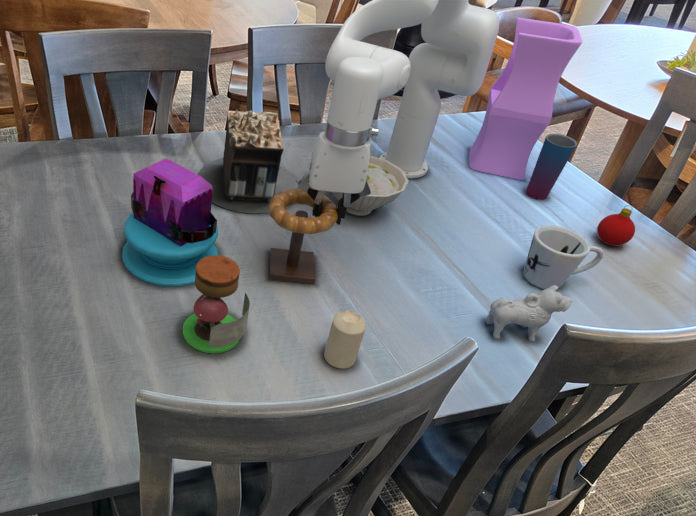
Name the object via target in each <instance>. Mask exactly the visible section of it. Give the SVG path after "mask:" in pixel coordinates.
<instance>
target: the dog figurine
mask: <svg viewBox="0 0 696 516" xmlns="http://www.w3.org/2000/svg"><path fill="white" fill-rule="evenodd" d="M557 290H559V288H558V287H557V286H556V285H553V286H551V287H549V288H547V289H543V290H541V291H540V292H539V293H538V294H536V293H534V292H530V293H528V294H527V295H526V296H525V297H523V298H518V299H509V298H504V297H503V298H502V297H501V298H498V299H495V300H494V301H492V303H491V304H490V307H489V308H490V310H489V311H488V315H487V317H486V319H485V321H486V322H485V323H486V324H487V325H493V326H494V328H493V329H494V330H493V332H492V336H493V338H494V339H498V340H499V339H501V332H502V330H503V329H504V328H505V327H506V326H507V325H508V324H510V323H513V324H516V325H519V326H520V327H521V328H527V327H528V337H527V339H528V341H529V342H536V335H537V333H538V331H539V329H540V328H542V327H544V326H546V325H547V324H548V323H549V322H550V320H551V318H552V314H553V313H555V312H556V313H558V312H559V313H560V312H563V313H564V312H566V311H568V310H569V309H570V308H571V306H572V302H573V300H572V298H571V297H570V296H564V295H563V294H562V293H561V292H560V291H557Z"/></svg>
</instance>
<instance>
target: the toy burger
mask: <svg viewBox="0 0 696 516" xmlns="http://www.w3.org/2000/svg"><path fill="white" fill-rule="evenodd" d="M240 271H241V269H240V266H239V265H238V263H237V262H236V261H235V260H233V259H232V258H230V257H228V256H224V255H219V254H218V255H212V256H207V257H205V258H203V259H201V260H200V261H199V262H198V263H197V265H196V272H195V283H194V286H195V288H196V289H197V291H198V292H199V293H200V294H201V295H200V296H199V297H198V298H197V299H196V300H195V302H194V304H193V314H191V315H189V316H188V317H187V318H186V319H185V321H184V323H183V324H182V336H183V339H184V340H185V342H186V344H188V345H189V346H190V347H191V348H193V349H195V350H197V351H199V352H202V353H205V354H221V353H226V352H228V351H231V350H232V349H234V348H235V347H236V346H237V345H238V344H239V342H240V341H241V338H242V337H243V336H244V335H245V334H246V331H247V327H248V320H249V312H250V305H251V302H250V298H249V296H248V294H247V293H246V292H244V297H243V305H242V313H241V315H242V316H241V317H239V318H237V319H236V318H235V317H233V316H231V314H229V307H228V304H227V303H226V302H225V300H223V299H222V298H227V297H230V296H232V295H233V294H235V293H236V291H237V290H238V287H239V279H240Z"/></svg>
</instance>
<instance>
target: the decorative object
mask: <svg viewBox="0 0 696 516" xmlns="http://www.w3.org/2000/svg"><path fill="white" fill-rule="evenodd" d="M197 174H198V173H195V172H194V171H192V170H190V169H188V168H186V167H184V166H182V165H180V164H179V163H177V162H174V161H172V160H171V159H168V158H167V157H166V158H163V159H161V160H159V161H157V162H155V163H153V164H151V165H148V166H147V167H145V168H142V169H140V170H138V171H136V172H133V176H132V178H133V179H132V182H133V183H132V187H133V188H132V189H133V191H132V193H131V195H130V208H131V211H132V212H131V213H130V214H129V216H128V217H127V218H126V219H125V221H124V227H123V234H124V236H125V239H126V242H125V244H124V245H123V247H122V252H121V260H122V262H123V264H124V267H125V269H126V270H127V271H128V272H129V273H130V274H131V275H133V276H134V277H135V278H137V279H139V280H141V281H143V282H144V283H147V284H151V285H155V286H160V287H182V286H187V285H193V284H194V285H195V272H196V265H197V263H198V262H199V261H200V260H201V259H203V258H205V257H207V256H212V255H219V253H218V252H219V251H218V248H217V247H216V245H215V244H216V241H217V239H218V236H219V230H218V229H219V228H218V219H217V218H216V216H215V215H214V214H213V213H212V204H213V203H212V192H213V189H212V185H211V184H210V183H209V182H207V181H206V180H205V179H204V178H202V177H201V176H199V175H197Z"/></svg>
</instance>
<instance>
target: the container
mask: <svg viewBox="0 0 696 516" xmlns="http://www.w3.org/2000/svg"><path fill="white" fill-rule="evenodd" d="M514 31H515V32H514V39H513V40H514V41H513V44H512V49H511V52H510V56H509V59H508V61H507V63H506V65H505V67H504V69H503V70H502V72H501V73H500V75H499V76H498V78H497V79H496V81H494V82H493V84H492V85H491V87H490V90H489V92H488V98H487V105H486V109H485V115H484V117H483V118H484V119H483V121H482V125H481V127H480V129H479V132H478V133H477V136H476V137H475V140H474V142H473V143H472V145H471V147H470V149H469V150H468V151H469V152H468V154H469V155H468V167H469V168H470V169H472V170H473V171H477V172H481V173H485V174H490V175H495V176H500V177H505V178H509V179H514V180H519V181H525V178H526V177H525V176H526V171H527V166H528V163H529V158H530V156H531V154H532V151H533V149H534V147H535V145H536V143H537V142H538V140H539V139H540V137H541V136H542V135H543V133H544V132H545V130H546V129H547V128H548V127H549V125H550V123H551V120H552V119H553V111H554V103H555V96H556V92H557V89H558V86H559V83H560V81H561V80H560V79H561V78H562V76H563V73H564V72H565V70H566V68H567V66H568V65H569V63H570V61H571V60H572V58H573V56H574V55H575V54H576V52H577V51H578V50H579V48H580V47H581V45H582V43H583V39H582V36H581V33H580V30H579V28H578V27H575V26H573V25H570V24H564V23H558V22H553V21H544V20H538V19H531V18H525V17H517V18H516V21H515V30H514Z"/></svg>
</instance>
